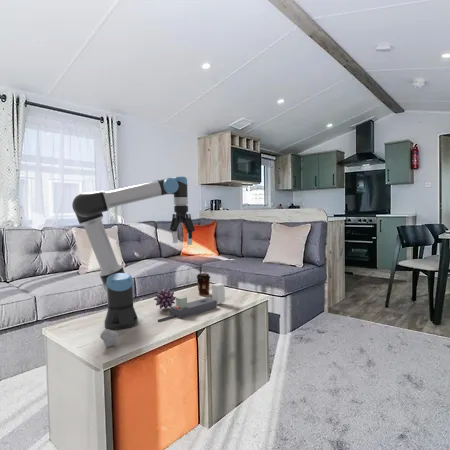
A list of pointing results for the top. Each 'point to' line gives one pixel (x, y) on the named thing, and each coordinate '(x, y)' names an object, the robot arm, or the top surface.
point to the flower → (165, 298)
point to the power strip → (192, 308)
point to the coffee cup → (203, 284)
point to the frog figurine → (109, 337)
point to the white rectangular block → (218, 293)
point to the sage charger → (181, 302)
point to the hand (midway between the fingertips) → (182, 243)
